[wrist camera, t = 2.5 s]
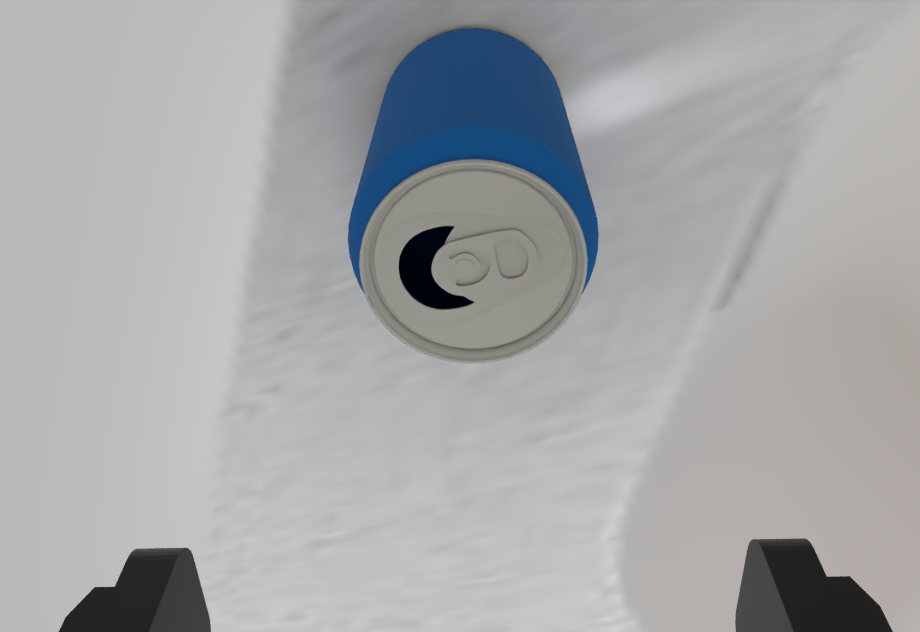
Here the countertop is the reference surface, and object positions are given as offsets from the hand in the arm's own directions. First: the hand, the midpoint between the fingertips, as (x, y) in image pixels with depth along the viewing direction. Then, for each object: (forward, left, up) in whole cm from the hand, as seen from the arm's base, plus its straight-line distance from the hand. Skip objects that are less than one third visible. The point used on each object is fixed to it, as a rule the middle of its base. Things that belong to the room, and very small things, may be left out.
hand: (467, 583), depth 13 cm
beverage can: (0, 0, -22) cm, 22 cm away
